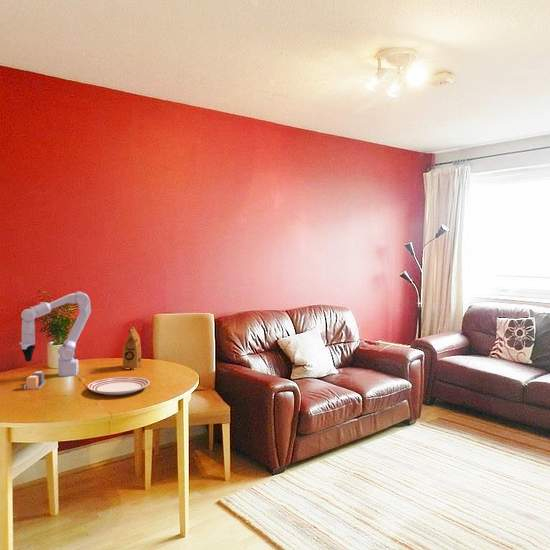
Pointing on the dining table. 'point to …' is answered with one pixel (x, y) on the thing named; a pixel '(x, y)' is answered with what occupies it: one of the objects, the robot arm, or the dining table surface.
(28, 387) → the block
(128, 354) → the coffee package
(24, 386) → the rail
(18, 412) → the dining table surface
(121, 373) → the dining table surface
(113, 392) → the dinner plate
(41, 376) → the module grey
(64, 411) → the dining table surface
